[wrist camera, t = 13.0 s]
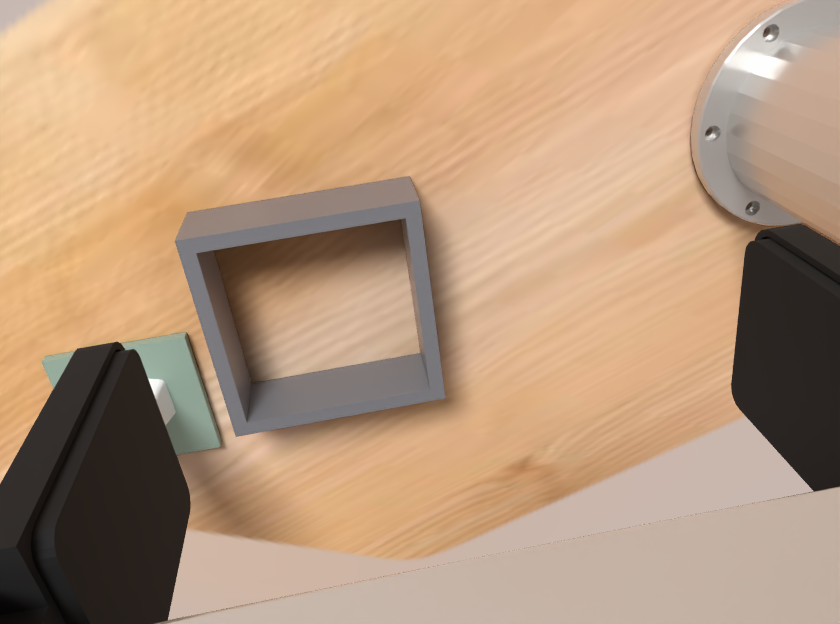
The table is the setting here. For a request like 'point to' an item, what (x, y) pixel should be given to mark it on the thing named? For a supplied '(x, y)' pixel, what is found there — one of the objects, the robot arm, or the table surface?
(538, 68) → the table surface
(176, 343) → the mat
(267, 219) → the bin
